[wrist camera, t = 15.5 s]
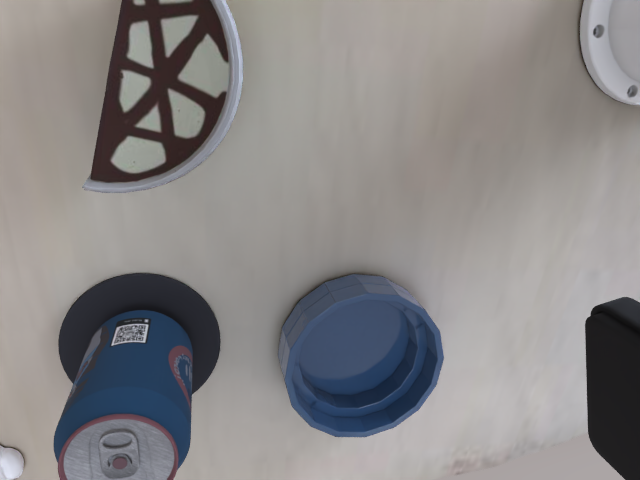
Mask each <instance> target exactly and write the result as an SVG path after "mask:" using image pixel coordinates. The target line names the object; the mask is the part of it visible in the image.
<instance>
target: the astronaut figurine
mask: <svg viewBox="0 0 640 480" xmlns="http://www.w3.org/2000/svg"><path fill="white" fill-rule="evenodd" d="M23 467H24V459H23V457H22V455H21V453H20V452H19V451H17V450H15V449H13V448H4V447H2V446H1V445H0V480H15V478H18V477H19V476H20V475H21V474H22V472H23Z"/></svg>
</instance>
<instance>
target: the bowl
mask: <svg viewBox="0 0 640 480" xmlns="http://www.w3.org/2000/svg"><path fill="white" fill-rule="evenodd" d="M278 358H279V361H280V365H281V369H282V373H283V376H284V380H285V384H286V387H287V391H288V394H289V398H290V401H291V405H292V407H293V408H294V409H295V410H296V411H297V413H298V414H299V415H300V416H301V417H302V418H303V419H304V420H305V421H306V422H307V423H308V424H309V425H310V426H311V427H313V428H316V429H318V430H320V431H323V432H325V433H328V434H330V435H333V436H335V437H367V436H370V435H373V434H376V433H379V432H382V431H385V430H388V429H391V428H394V427H396V426H397V425H399V424H400V423H401V422H403V421H404V420H405V419H407V418H408V417H410V416H411V415H412V414H414V413H415V412H416V411H418V410H419V409H420V407H421V406H422V405H423V403H424V402H425V401H426V399H427V398H428V396H429V395H430V394H431V392H432V391H433V389H434V388H435V387H436V385H437V381H438V378H439V374H440V370H441V367H442V363H443V359H444V356H443V349H442V342H441V335H440V331H439V329H438V328H437V326H436V325H435V323H434V322H433V321H432V319H431V318H430V316H429V315H428V313H427V312H426V310H425V309H424V308H423V307H422V306H421V305H420V304H419V303H418V302H417V300H416V299H415V298H414V297H413V296H412V295H411V294H410V293H409V292H408V291H407V290H406V289H405V288H403V287H401V286H399V285H397V284H396V283H394V282H392V281H390V280H388V279H387V278H385V277H382V276H372V275H361V274H352V275H348V276H345V277H341V278H338V279H334V280H331V281H328V282H324V283H323V284H322V285H320V286H319V287H317V288H316V289H315V290H313V291H312V292H311V293H309V294H308V295H307V296H305V297H304V298H303V299H301V300H300V301H299V302H298V303H297V305H296V307H295V308H294V310H293V311H292V313H291V314H290V316H289V317H288V319H287V320H286V322H285V324H284V325H283V327H282V332H281V338H280V343H279V349H278Z"/></svg>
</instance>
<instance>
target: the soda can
mask: <svg viewBox="0 0 640 480" xmlns="http://www.w3.org/2000/svg"><path fill="white" fill-rule="evenodd" d="M192 362H193V351H192V345H191V342H190V339H189V337H188V335H187V333H186V332H185V330H184V329H183V328H182V327H181V326H180V325H179V324H178V323H177V322H176V321H174V320H173V319H171V318H170V317H168V316H166V315H164V314H161V313H158V312H154V311H147V310H136V311H129V312H125V313H122V314H119V315H117V316H115V317H113V318H111V319H109V320H108V321H106V322H105V323H104V324H102V325H101V326H100V327H99V328H98V330H97V331H96V332H95V333H94V335H93V336H92V338H91V340H90V343H89V345H88V348H87V351H86V353H85V356H84V358H83V361H82V363H81V366H80V369H79V371H78V374H77V376H76V379H75V382H74V384H73V387H72V389H71V392H70V395H69V397H68V400H67V402H66V405H65V408H64V410H63V413H62V415H61V418H60V420H59V423H58V426H57V428H56V431H55V436H54V452H55V456H56V459H57V462H58V473H59V477H60V480H173V479H174V477H175V474H176V472H177V470H178V469H179V467H180V466H181V465H182V463H183V461H184V460H185V458H186V456H187V453H188V451H189V447H190V439H191V401H192Z"/></svg>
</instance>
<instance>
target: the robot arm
mask: <svg viewBox="0 0 640 480" xmlns="http://www.w3.org/2000/svg"><path fill="white" fill-rule="evenodd" d="M580 42H581V49H582V55H583V58H584V61H585V64H586V67H587V70H588V72H589V73H590V75H591V77H592V78H593V80H594V82H595V83H596V84H597V85H598V86H599V88H600V89H601V90H602V91H603V92H604V93H606V94H607V95H609V96H610V97H612V98H613V99H615V100H617V101H620V102H623V103H626V104H633V105H640V0H584V2H583V8H582V14H581V20H580ZM585 333H586V369H587V406H588V434H589V438H590V441H591V443H592V445H593V447H594V448H595V449H596V451H597V452H598V453H599V454H600V455H601V456H602V457H603V458H604V459H605V460H606V461H607V462H608V463H609V464H610V465H611V466H612V467H613V468H614V469H615V470H616V471H617V472H618V473H619V474H620V475H621V476H622V477H623V478H624V479H625V480H640V303H639V302H637V301H635V300H634V299H631V298H628V297H622V298H619V299H616V300H613V301H610V302H607V303H603V304H600V305H597V306H595V307H594V308H593V309H592V311H591V316H590V317H588V318H587V320H586V324H585Z"/></svg>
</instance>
